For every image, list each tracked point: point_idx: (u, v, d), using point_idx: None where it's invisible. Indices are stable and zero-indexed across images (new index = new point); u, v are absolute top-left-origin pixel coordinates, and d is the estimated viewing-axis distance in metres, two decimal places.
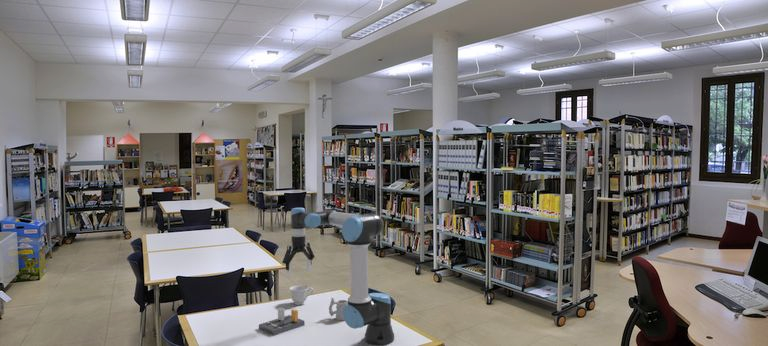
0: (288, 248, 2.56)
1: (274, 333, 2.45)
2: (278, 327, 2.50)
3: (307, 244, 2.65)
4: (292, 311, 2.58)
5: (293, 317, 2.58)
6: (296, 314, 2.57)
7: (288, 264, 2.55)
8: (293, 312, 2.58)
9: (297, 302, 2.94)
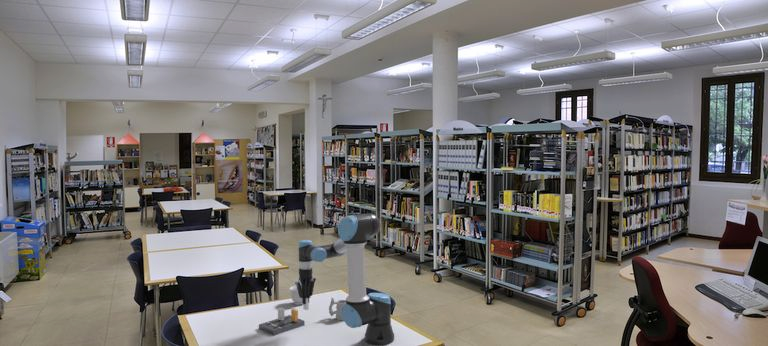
0: (297, 285, 2.60)
1: (274, 333, 2.45)
2: (278, 327, 2.50)
3: (313, 279, 2.67)
4: (292, 311, 2.58)
5: (293, 317, 2.58)
6: (296, 314, 2.57)
7: (305, 298, 2.63)
8: (293, 312, 2.58)
9: (297, 302, 2.94)
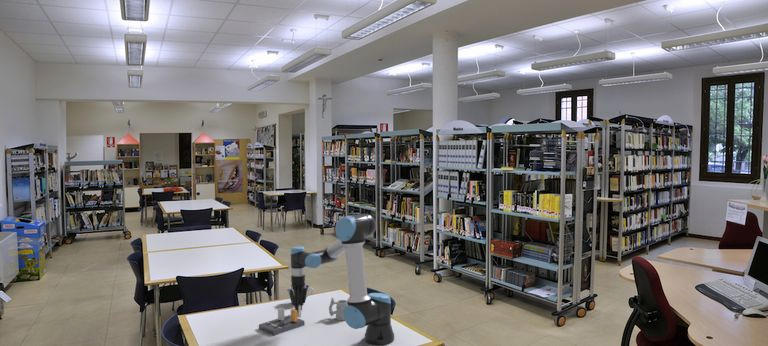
0: (289, 292, 2.56)
1: (274, 333, 2.45)
2: (278, 327, 2.50)
3: (306, 286, 2.63)
4: (291, 311, 2.58)
5: (292, 317, 2.58)
6: (295, 314, 2.57)
7: (298, 305, 2.59)
8: (292, 312, 2.57)
9: None
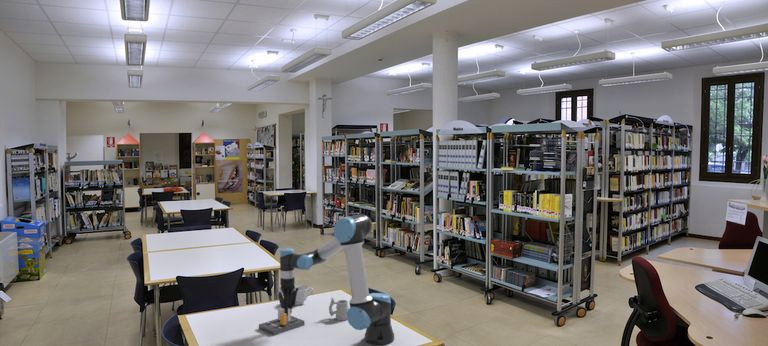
0: (278, 295, 2.51)
1: (274, 333, 2.45)
2: (278, 327, 2.50)
3: (296, 289, 2.58)
4: (281, 314, 2.53)
5: (281, 321, 2.53)
6: (285, 318, 2.52)
7: (287, 308, 2.54)
8: (282, 315, 2.52)
9: (297, 302, 2.94)
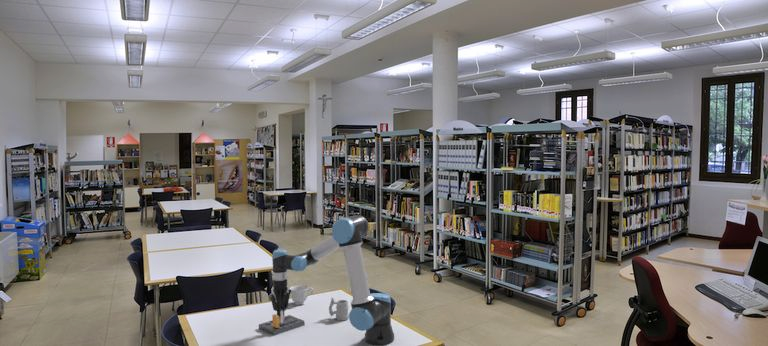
0: (271, 297, 2.47)
1: (274, 333, 2.45)
2: (278, 327, 2.50)
3: (288, 290, 2.55)
4: (273, 317, 2.50)
5: (274, 323, 2.49)
6: (277, 320, 2.49)
7: (280, 311, 2.50)
8: (274, 318, 2.49)
9: (297, 302, 2.94)
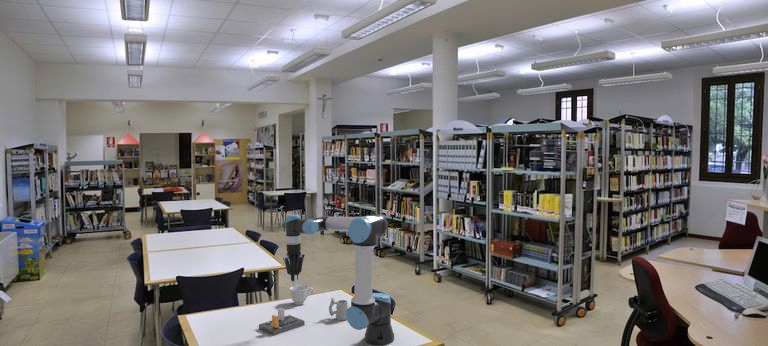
0: (285, 260, 2.49)
1: (274, 333, 2.45)
2: (278, 327, 2.50)
3: (302, 255, 2.57)
4: (273, 317, 2.49)
5: (273, 323, 2.49)
6: (277, 320, 2.48)
7: (294, 275, 2.52)
8: (274, 318, 2.49)
9: (297, 302, 2.94)
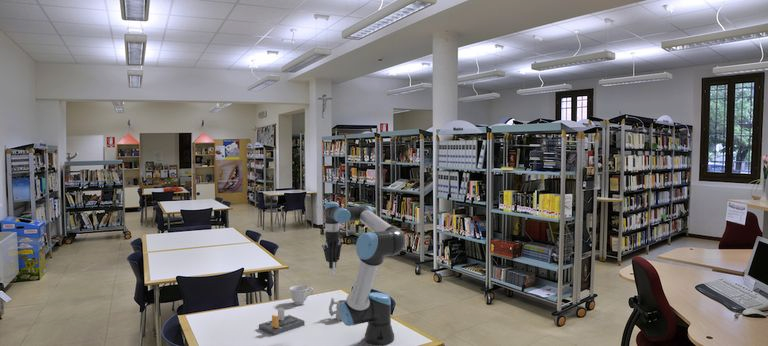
0: (324, 248, 2.50)
1: (274, 333, 2.45)
2: (278, 327, 2.50)
3: (340, 243, 2.58)
4: (273, 317, 2.49)
5: (273, 323, 2.49)
6: (277, 320, 2.48)
7: (332, 262, 2.53)
8: (274, 318, 2.49)
9: (297, 302, 2.94)
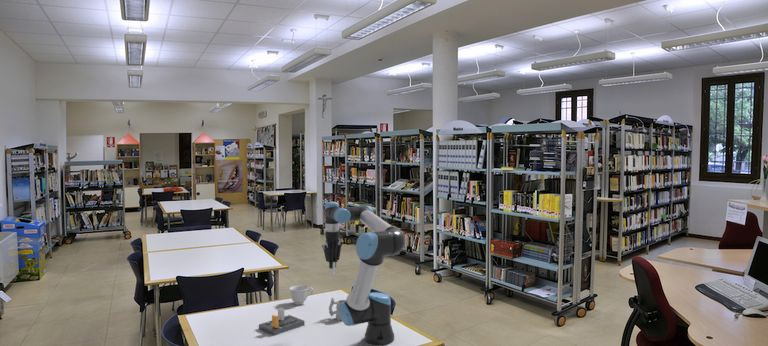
0: (324, 248, 2.50)
1: (274, 333, 2.45)
2: (278, 327, 2.50)
3: (340, 243, 2.58)
4: (273, 317, 2.49)
5: (273, 323, 2.49)
6: (277, 320, 2.48)
7: (332, 262, 2.53)
8: (274, 318, 2.49)
9: (297, 302, 2.94)
